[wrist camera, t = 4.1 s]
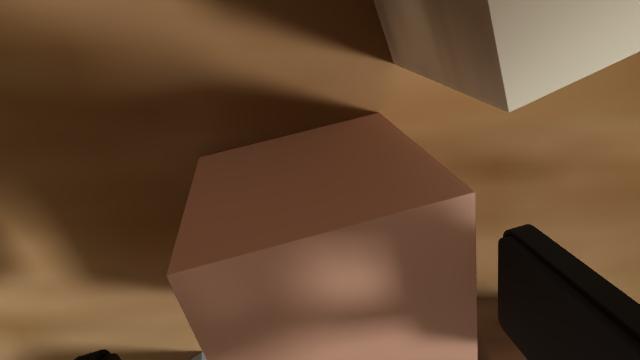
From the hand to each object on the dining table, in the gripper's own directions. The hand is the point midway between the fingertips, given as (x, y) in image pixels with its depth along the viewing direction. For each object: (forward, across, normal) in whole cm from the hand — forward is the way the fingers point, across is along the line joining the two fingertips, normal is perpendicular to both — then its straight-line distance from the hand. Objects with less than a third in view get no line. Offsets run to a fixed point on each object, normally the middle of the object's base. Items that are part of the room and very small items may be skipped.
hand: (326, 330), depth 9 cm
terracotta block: (+5, -1, 0) cm, 5 cm away
